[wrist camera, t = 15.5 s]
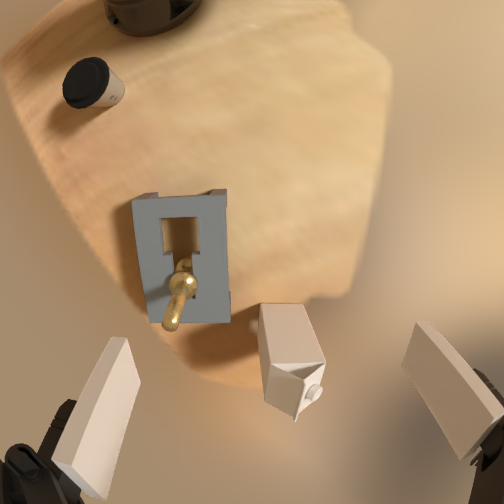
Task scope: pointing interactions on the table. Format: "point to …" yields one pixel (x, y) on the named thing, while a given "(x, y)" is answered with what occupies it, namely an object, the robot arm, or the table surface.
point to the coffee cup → (92, 85)
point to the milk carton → (289, 357)
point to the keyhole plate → (204, 262)
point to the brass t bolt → (179, 293)
